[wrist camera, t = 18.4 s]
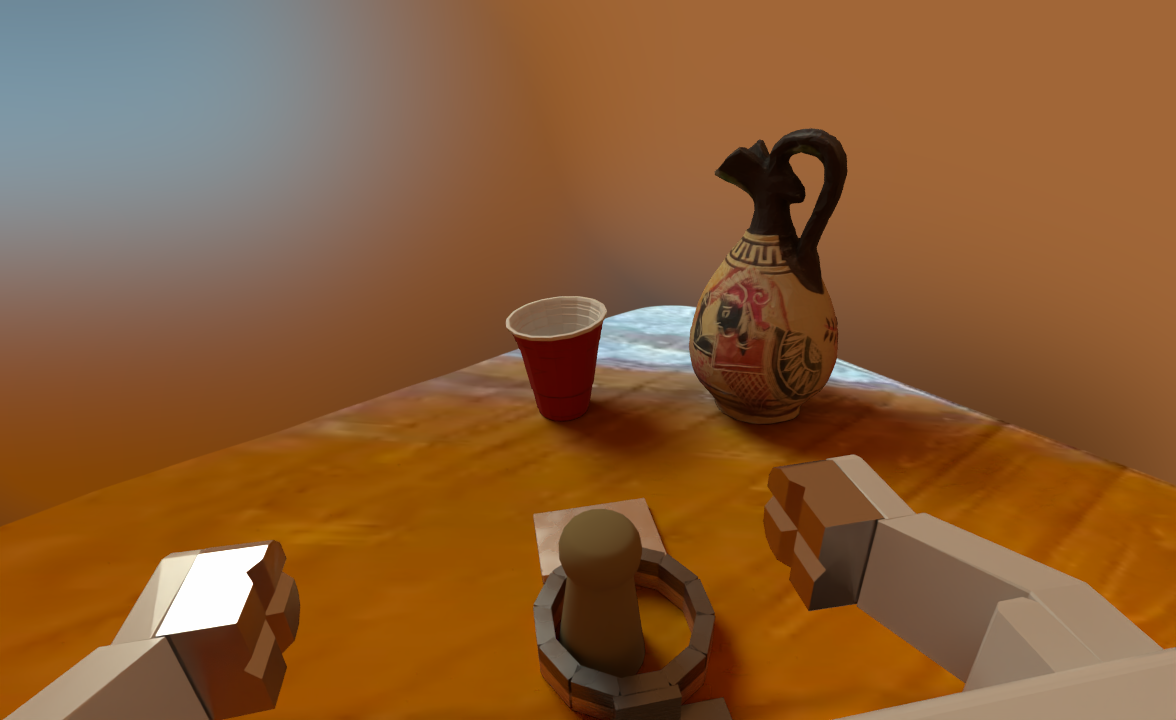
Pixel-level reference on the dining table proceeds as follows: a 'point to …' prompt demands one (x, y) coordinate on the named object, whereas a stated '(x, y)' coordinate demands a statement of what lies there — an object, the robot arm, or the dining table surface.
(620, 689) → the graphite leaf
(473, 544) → the dining table surface
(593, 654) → the cork
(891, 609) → the robot arm
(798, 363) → the ceramic jug
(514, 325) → the plastic cup
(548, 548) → the ring
